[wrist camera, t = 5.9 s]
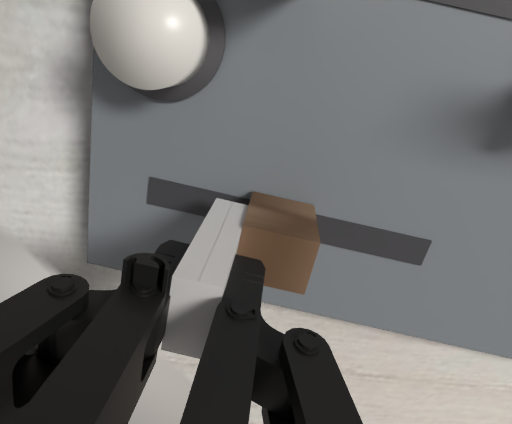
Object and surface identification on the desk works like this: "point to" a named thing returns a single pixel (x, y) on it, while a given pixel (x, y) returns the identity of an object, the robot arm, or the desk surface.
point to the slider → (281, 240)
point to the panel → (333, 155)
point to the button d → (150, 40)
